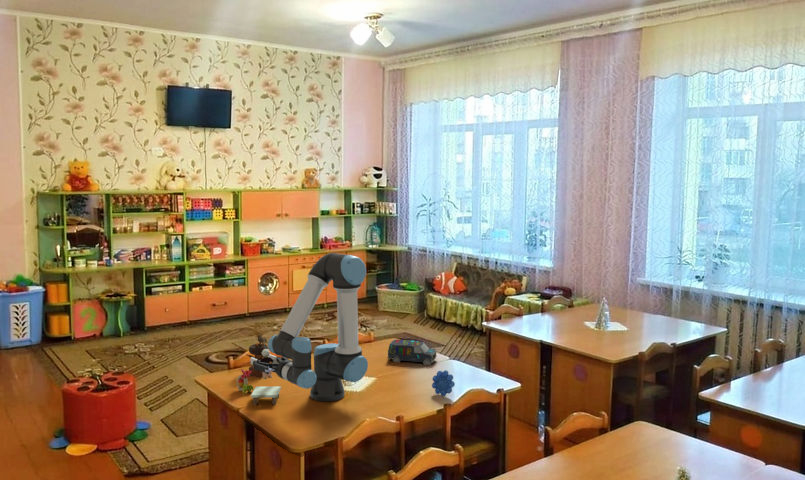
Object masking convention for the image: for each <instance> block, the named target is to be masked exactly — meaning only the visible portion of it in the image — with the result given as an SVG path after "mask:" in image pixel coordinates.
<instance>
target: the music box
mask: <svg viewBox="0 0 805 480" xmlns="http://www.w3.org/2000/svg"><path fill="white" fill-rule="evenodd" d="M257 342H258V343H256V342H255V343H254V344H251V345H250V346H249V347H248V352H249V354H246V356H248V357H249V358H251V357H253V358H255V359H257V360H261V359H262V358H265V357H263V355H262V351H263V350H264V349H268V350H269V348H268V342H269V341H268V340H267V338H265V336H263V334H260V333H259V334H258V335H257ZM248 371H252V372H251V373H250V374H249V376H250V377H253V378H262V377H263V372H261V371H258V370H255V369H254V365H253V364H250V366H249V367H248Z"/></svg>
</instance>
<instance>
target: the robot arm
mask: <svg viewBox="0 0 805 480" xmlns="http://www.w3.org/2000/svg"><path fill="white" fill-rule="evenodd" d="M366 275H367V266H366V264H365V262H364V261H363V260H362V258H360V257H358V256H355V255H352V254H345V253H336V252H330V253H327V254H324V255H323V256H321V257H319V259H318V260H317V261H316V262H315V263H314V264H313V266H312V267H311V269H310V270H309V272H308V274H307V275H306V276H307V281H306V283H305V284H304V287H303V288H302V290H301V292H300V293H299V296H298V297H297V299H296V301H295V303H294V305H293V306H292V308H291V310H290V312H289V314H288V316H287V318H286V319H285V322H283V325H282V326H281V329H280V331H279V332H278V334H275V335H273V336H271V337H270V338H269V339H268V341H267V342H268V343H267V346H268V350H269V352H270V353H269V356H268V357H270V358H272V360H273V361H274V363H271V362H270V363H264V362H260V360H257V359H255V358H253V357H250V365H254V369H255V370H258V371H261V372H264V373H266V374H269V372H271V373H275V374H276V376H277V377H279V379H280V378H281V379H283V380H285V381H287V382H290V383H291V384H294V385H295V386H297V387H299V388H301V389H302V388H303V389H310V392H309V393H310V394H309V395H310V396H309V397H310V398H311V399H312V400H315V401H318V402H334V401H339V400H341V399H343V398H344V397H345V391H346V390H345V387H344V384H343V381H342V380H344V381H345V382H351V383H357V382H359V381H361V380H362V379H363V378H364V377H365V375H366V373H367V371H368V368H369V362H368V359H367V358H366V357H365V356H364V355H363V348H362V347H361V345H359V316H358V313H359V312H358V311H359V310H358V306H359V305H358V290H359V289H361V287H362V283H363V282H364V281H365V278H366V277H367V276H366ZM331 281H332V286H333V287H332V288H333V289H334V290H335V291H336V307H337V309H336V311H337V312H336V313H337V315H336V316H337V342H338V343H334V342H333V343H323V344H320V345H317V346H315V348H314V351H313V369H312V350H313V349H312V342H311V339H310V338H309V337H305V336H299V334H300V333H301V332H302V329H303V327H304V325H305V324H306V322H307V320H308V318H309V316H310V314H311V312H312V311H313V309H314V307H315V305H316V303H317V301H318V299H319V297H320V296H321V293H322V292H323V290H324V288H326V287H328V286H329V284H330V282H331ZM271 353H272V354H271ZM273 354H275V355H273Z"/></svg>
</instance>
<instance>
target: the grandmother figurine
mask: <svg viewBox="0 0 805 480" xmlns="http://www.w3.org/2000/svg"><path fill="white" fill-rule="evenodd" d="M269 354H271V351H270V350H269V348H268V349H264V350H263V351H262V355H263V357H265V358H262V359H261V360H260V362H264V363H274V361H273V360H272V358H270V357H268V356H269ZM261 379H263V380H267V379H273V375H272V372H269V374H266V373H264V372H263V377H261Z"/></svg>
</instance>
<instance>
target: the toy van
mask: <svg viewBox="0 0 805 480" xmlns="http://www.w3.org/2000/svg"><path fill="white" fill-rule="evenodd" d="M386 358H387V359H388V360H392V361H393V362H394V363H401V361H408V362H420V363H423V365H424V366H430V365H431V364H432V363H433V362H434V361H435V360H436V358H437V349H436V348H432V347H431V348H430V347H428V346H427V344H426V343H425V342H423V341H418V340H409V339H393V340H392V341H391V342H390V343H389V345H388V349H387V357H386Z"/></svg>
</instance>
